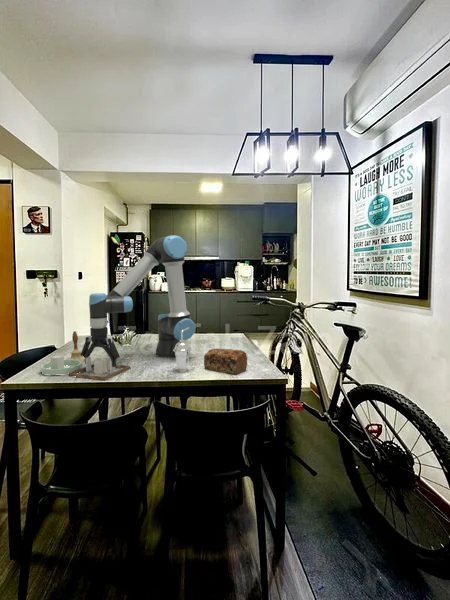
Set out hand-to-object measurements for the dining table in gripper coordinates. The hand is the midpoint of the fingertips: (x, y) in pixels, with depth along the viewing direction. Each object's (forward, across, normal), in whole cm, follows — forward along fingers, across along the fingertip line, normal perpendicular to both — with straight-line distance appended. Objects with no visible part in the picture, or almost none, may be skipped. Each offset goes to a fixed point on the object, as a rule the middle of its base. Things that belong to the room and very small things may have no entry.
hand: (100, 372), depth 166 cm
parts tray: (0, 0, 0) cm, 0 cm away
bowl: (0, +20, +3) cm, 20 cm away
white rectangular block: (0, +22, +3) cm, 23 cm away
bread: (0, -54, -22) cm, 58 cm away
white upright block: (0, 0, -6) cm, 6 cm away
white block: (0, 0, 0) cm, 0 cm away
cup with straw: (0, -35, -15) cm, 38 cm away
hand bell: (0, +26, -13) cm, 29 cm away
